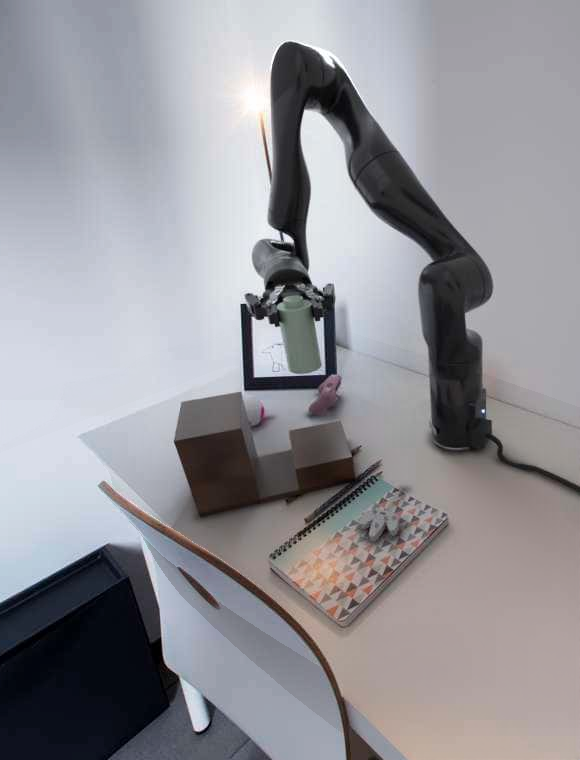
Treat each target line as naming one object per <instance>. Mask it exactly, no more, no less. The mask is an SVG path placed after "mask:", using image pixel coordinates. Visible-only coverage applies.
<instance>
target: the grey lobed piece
mask: <svg viewBox="0 0 580 760" xmlns="http://www.w3.org/2000/svg"><path fill="white" fill-rule="evenodd" d="M404 490H405V488H404V487H402V488H401V489H400V490H399V492H398V494H397V497H396V498H395V500H392V501H391V502H390V503H389V504H388V507H387V509H386V510H385V509H380V508H379V509H378V508H373V509H368V510H366V511H365V512H364V513H363V515H362V516H361V518H359V525H360V527H361V529H362V530H367V529H368V528H369V532H368V535H369V538H370V539H369V540H370V541H371V542H372V543H373V542H376V541H378V540H379V538H380V537H381V535H382V534H383V532H384V531H385V530H386V527H387V530H388V533H389V535H390V536H397V534H398V532H399V528H400V518H399V516H398V515H397V514H396V513H394V512H392V511H390V510H389V508H390V506H391V505H392V504H393V503H395V502H396V501H397V500H398V498H399V496H400V494H401V491H404Z"/></svg>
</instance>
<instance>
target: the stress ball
mask: <svg viewBox="0 0 580 760" xmlns="http://www.w3.org/2000/svg"><path fill="white" fill-rule="evenodd" d="M242 397H243V401H244V405H245V409H246V413H247V417H248V420H249V424H250V427H254V426H256V425H258V424H260V423H261V422H262V420H265V419H270V417H267V416H266V417H265V407H264V404H263V402H262V401H261V400H260V399H259V398H258V397H256V396H254V395H252V394H242Z"/></svg>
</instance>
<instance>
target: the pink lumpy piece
mask: <svg viewBox="0 0 580 760" xmlns="http://www.w3.org/2000/svg"><path fill="white" fill-rule="evenodd" d="M342 379H343V376H341V375H337V374H334V373H331V375H329V376H328V377H327V378H326V379H325V380H324V381H323V382H322V383H321V384H320V385H319V386H318V388H317V392H318V394H319V396H318V398H317V399H316V400H314V401H313V402H312V403H311V404H310V405H309V406H308V413H309V414H310V415H319V414H322V413H323V412H325V411H326V410H327V409H330V408H331V405H332V404H333V403H337V401H338V400H339V399H338V394H337V391H338V389H339V388H340V387H341V384H342Z"/></svg>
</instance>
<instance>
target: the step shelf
mask: <svg viewBox="0 0 580 760" xmlns="http://www.w3.org/2000/svg"><path fill="white" fill-rule="evenodd" d="M242 395H243V394H242V391H237V392H236V391H235V392H231V393H225V394H219V395H213V396H208V397H201V398H195V399H190V400H184V401H181V402H180V407H179V412H178V416H177V417H178V418H177V423H176V428H175V432H174V437H173V444H174V446H175V450H176V453H177V455H178V458H179V461H180V464H181V467H182V470H183V472H184V476H185V478H186V481H187V484H188V487H189V490H190V493H191V495H192V496H191V497H192V499H193V501H194V505H195V507H196V510H197V513H198V517H199V518H204V517H208V516H212V515H215V514H216V515H217V514H221V513H225V512H230V511H234V510H238V509H242V508H247V507H251V506H256V505H259V504H263V503H268V502H272V501H273V502H274V501H277V500H281V499H285V498H291V497H294V496H297V495H298V496H299V495H303V494H308V493H311V492H316V491H321V490H325V489H329V488H334V487H337V486H343V485H346V484H350V483H356V481H357V478H356V472H355V465H354V458H353V454H352V452H351V448H350V445H349V442H348V439H347V437H346V433H345V430H344V427H343V424H342V420H336V421H331V422H326V423H320V424H316V425H311V426H306V427H300V428H295V429H292V430H291V429H289V431H288V433H289V434H288V435H289V441H290V444H291V445H290V446H291V449H289V450H283V451H279V452H274V453H269V454H264V455H260V456H258V452H257V449H256V445H255V444H256V443H255V440H254V436H253V433H252V429H251V426H250V424H249V420H248V417H247V413H246V409H245V405H244V401H243V397H242Z"/></svg>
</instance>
